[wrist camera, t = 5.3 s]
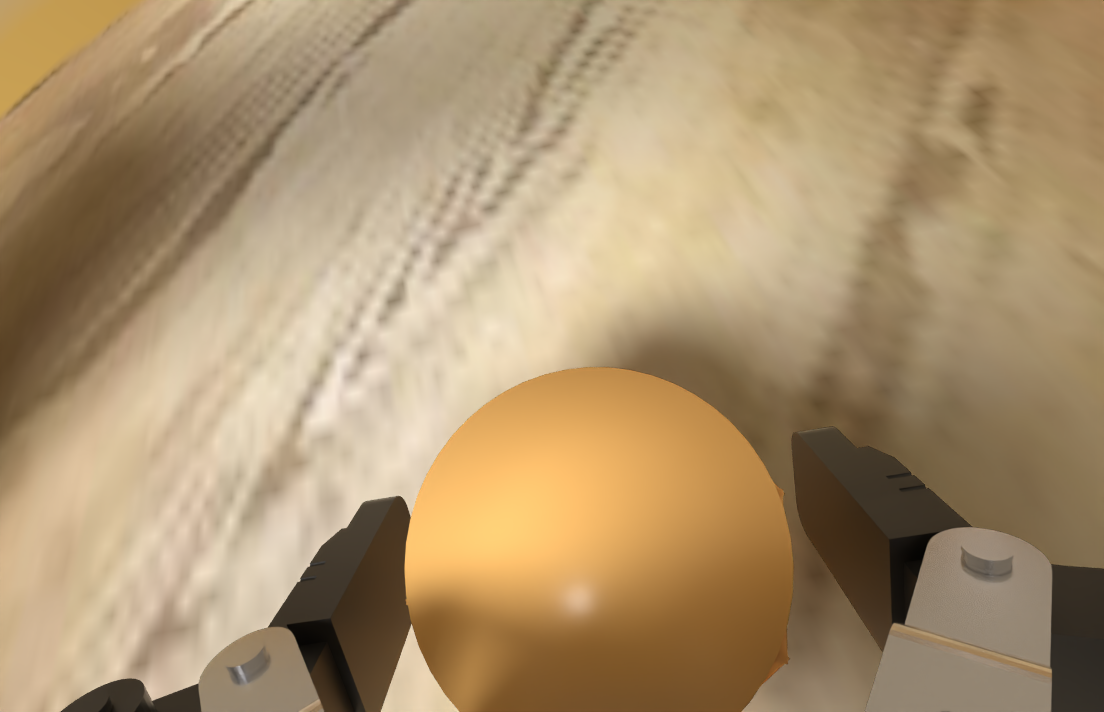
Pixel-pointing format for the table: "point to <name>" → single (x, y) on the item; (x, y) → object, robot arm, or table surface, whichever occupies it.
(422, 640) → the orange domed hexagonal post
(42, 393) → the table surface
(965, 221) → the table surface
